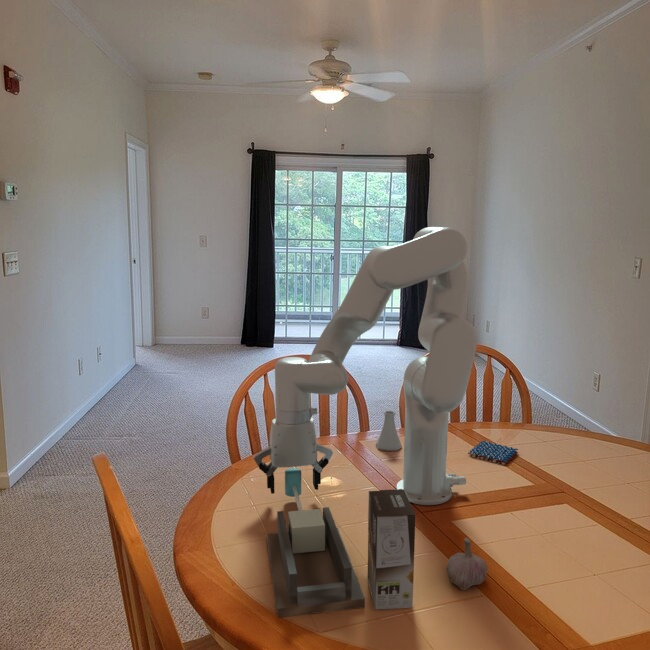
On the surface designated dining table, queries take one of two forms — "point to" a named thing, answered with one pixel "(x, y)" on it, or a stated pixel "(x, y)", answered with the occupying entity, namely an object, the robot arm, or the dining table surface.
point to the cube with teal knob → (303, 519)
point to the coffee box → (391, 549)
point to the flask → (389, 434)
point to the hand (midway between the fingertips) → (294, 488)
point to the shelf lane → (312, 573)
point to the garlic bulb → (466, 568)
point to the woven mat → (493, 452)
